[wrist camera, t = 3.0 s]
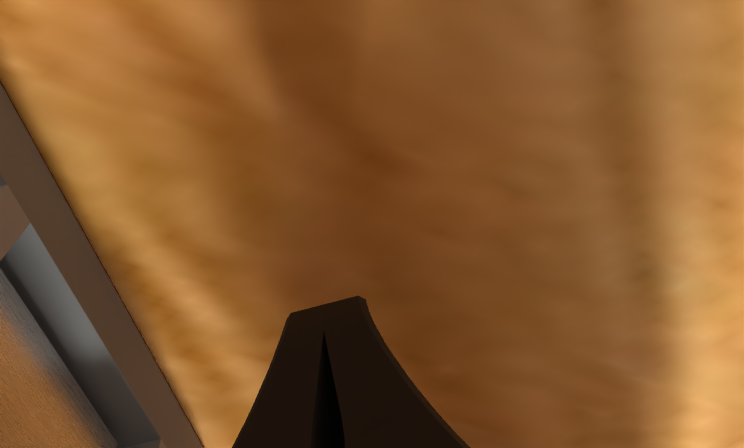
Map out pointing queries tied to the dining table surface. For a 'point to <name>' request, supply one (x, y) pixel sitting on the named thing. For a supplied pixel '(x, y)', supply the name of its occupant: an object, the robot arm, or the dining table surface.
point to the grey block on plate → (40, 387)
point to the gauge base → (79, 300)
